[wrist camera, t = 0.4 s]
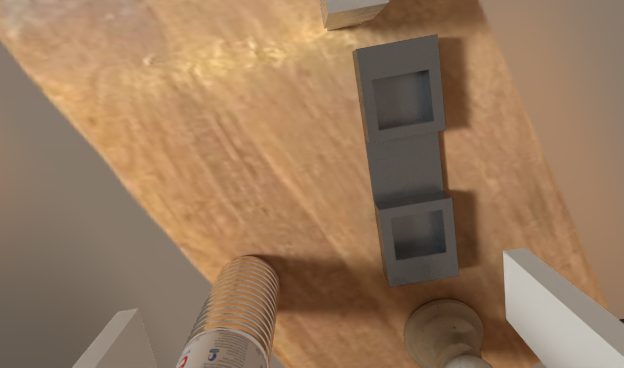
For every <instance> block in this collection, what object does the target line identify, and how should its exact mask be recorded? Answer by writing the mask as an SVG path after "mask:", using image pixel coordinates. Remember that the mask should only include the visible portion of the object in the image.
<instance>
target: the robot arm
mask: <svg viewBox="0 0 624 368" xmlns="http://www.w3.org/2000/svg"><path fill="white" fill-rule="evenodd" d="M503 258H504V281H505V303H506V319H507V321H508V322H509V323H510V324H511V325H512V327H513V328H514V329H515V330H516V331H517V333H518V334H519V335H520V336H521V338H522V339H523V340H524V341H525V342H526V344H527V345H528V346H529V347H530V348H531V350H532V351H533V352H534V353H535V354H536V356H537V357H538V358H539V359H540V361H541V362H542V363H543V364H544V365H545V366H546V368H624V319H620V320H618V319H617V318H615V317H614V316H613V315H612V314H610V313H609V312H608V311H607V310H605V309H604V308H603V307H601V306H600V305H599V304H598V303H596V302H595V301H594V300H592V299H591V298H590V297H588V296H587V295H586V294H585V293H583V292H582V291H581V290H579V289H578V288H577V287H576V286H574V285H573V284H572V283H570V282H569V281H568V280H567V279H565V278H564V277H563V276H561V275H560V274H559V273H557V272H556V271H555V270H554V269H552V268H551V267H550V266H548V265H547V264H546V263H545V262H543V261H542V260H541V259H539V258H538V257H537V256H536V255H534V254H533V253H532V252H530V251H529V250H528V249H526V248H519V249H513V250H506V251H503ZM72 368H158V367H157V364H156V361H155V358H154V355H153V352H152V349H151V346H150V342H149V339H148V336H147V333H146V330H145V327H144V324H143V321H142V318H141V315H140V312H139V309H132V310H126V311H119V312H117V313H116V315H115V316H114V317H113V318H112V320H111V321H110V322H109V323H108V324H107V326H106V327H105V328H104V329H103V331H102V332H101V333H100V334H99V335H98V337H97V338H96V339H95V340H94V341H93V343H92V344H91V345H90V346H89V348H88V349H87V350H86V352H84V354H83V355H82V356H81V357H80V359H79V360H78V361H77V362H76V363H75V365H74V366H73V367H72Z"/></svg>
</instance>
